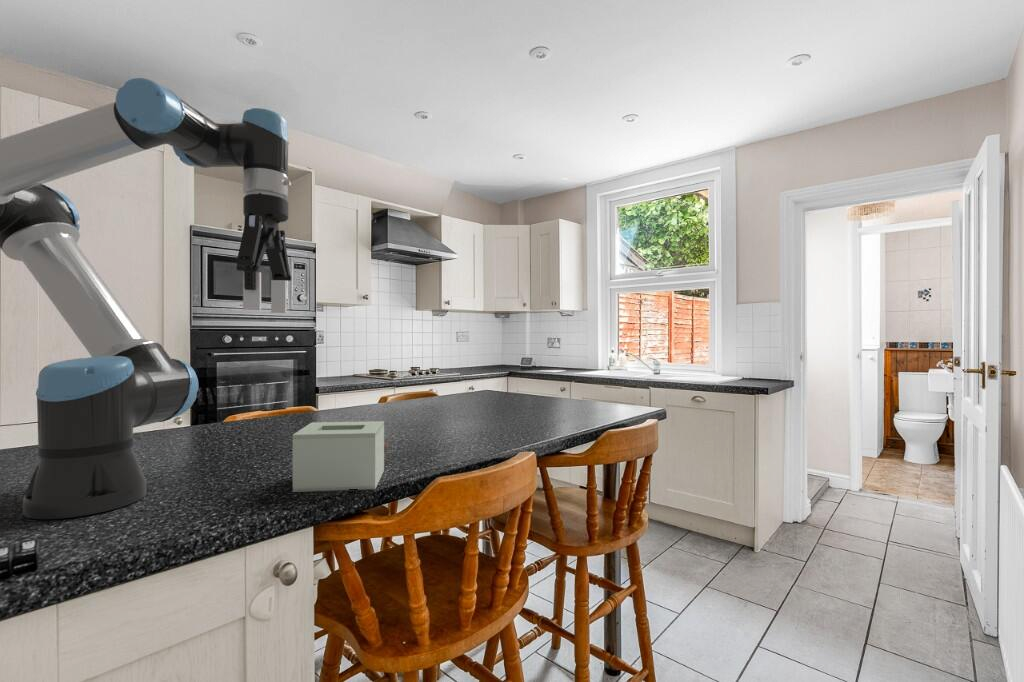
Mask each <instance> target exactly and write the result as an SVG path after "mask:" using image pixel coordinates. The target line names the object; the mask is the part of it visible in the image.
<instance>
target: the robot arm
mask: <svg viewBox="0 0 1024 682" xmlns="http://www.w3.org/2000/svg"><path fill="white" fill-rule="evenodd" d="M288 132H289V131H288V123H287V121H286V119H285V118H284V117H283V116H282V115H281V114H279V113H278V112H276V111H273V110H270V109H267V108H266V109H265V108H259V107H255V108H254V107H252V108H250V109H246V110H244V112H243V114H242V119H241V123H240V122H239V123H218V122H214V121H213V120H212V119H210V118H209V117H207V115H205V114H203V113H201V112H200V111H198V109H196V108H194V107H192V106H191V105H190V104H189V103H187V102H185V100H183V99H181V98H180V97H179V96H178V95H176V94H175V92H173V91H171V90H170V89H168V88H166V87H165V86H162V85H161V84H159V83H157V82H155V81H153V80H152V79H148V78H144V77H135V78H131V79H128V80H126V81H125V82H124V85H123V86H121V87H119V88H118V89H117V91H116V96H115V101H114V102H111V103H107V104H104V105H101V106H98V107H96V108H92V109H89V110H85V111H83V112H81V113H76V114H73V115H70V116H68V117H65V118H61V119H58V120H55V121H52V122H50V123H46V124H43V125H39V126H37V127H33V128H31V129H28V130H25V131H22V132H18V133H16V134H15V133H14V134H12V135H8V136H6V137H2V138H0V250H2V252H3V254H4V255H5V256H6V257H7V258H9V259H11V260H14V261H18V262H19V261H20V262H22V263H23V264H24V266H25V267H26V268H27V269H28V271H29V272H30V273H31V275H32V276H33V278H34V279H35V281H36V282H37V283H38V285H39V286H40V287H41V289H42V290H43V292H44V293H45V294H46V295H47V297H48V298H49V300H50V301H51V303H52V304H53V305H54V307H55V308H56V310H57V311H58V313H60V315H61V316H62V317H63V318H62V319H64V321H65V322H66V323H67V325H68V326H69V328H70V329H71V330H72V331H73V334H74V335H75V336H76V337H77V339H78V340H79V342H80V343H81V345H83V347H84V348H85V350H86V351H87V353H89V356H90V357H84V358H81V357H80V358H72V359H66V360H62V361H61V360H60V361H55V362H52V363H50V364H48V365H45V366H44V367H43V368H42V369H41V370H40V371H39V373H38V377H37V378H38V379H37V381H38V383H37V388H36V391H35V396H36V408H37V442H38V443H37V444H38V447H37V448H38V449H37V451H38V454H37V455H38V460H37V465H36V467H35V469H34V472H33V474H32V476H31V479H30V481H29V483H28V486H27V489H26V492H25V494H24V497H23V498H22V515H23V516H24V517H25V518H28V519H34V520H60V519H69V518H71V519H72V518H77V517H85V516H89V515H90V516H91V515H95V514H99V513H104V512H105V513H106V512H110V511H112V510H116V509H119V508H123V507H126V506H128V505H130V504H133V503H135V502H138V501H140V500H141V499H143V498H144V497H145V496H146V495H147V479H146V477H145V475H144V473H143V470H142V468H141V465H140V463H139V460H138V459H137V456H136V454H135V452H134V428H138V427H142V426H149V425H151V424H156V423H164V422H166V421H170V420H172V419H174V418H176V417H179V416H181V415H183V414H185V413H186V412H187V411H188V410H189V409H190V408H191V407H192V406H193V404H194V402H195V401H196V399H197V394H198V391H199V379H198V376H197V374H196V371H195V370H194V368H193V367H192V366H191V365H190V364H188V363H187V362H185V361H183V360H179V359H177V358H171V356H169V354H168V353H167V351H166V350H165V349H164V348H163V346H162V344H160V343H159V342H158V341H154V340H148V339H146V338H145V336H144V335H143V334H142V333H141V331H140V330H139V328H138V327H137V326H136V324H135V322H134V321H133V320H132V318H131V317H130V316H129V314H128V313H127V311H126V310H125V309H124V307H123V306H122V305H121V304H120V302H119V300H118V299H117V298H116V297H115V295H114V294H113V292H112V291H111V289H110V288H109V286H108V285H107V284H106V282H105V281H104V280H103V278H102V277H101V276H100V274H99V273H98V272H97V270H96V269H95V267H94V266H93V265H92V263H91V262H90V260H89V259H88V257H87V256H86V255H85V254H84V252H83V251H82V249H81V248H80V247H79V245H78V242H79V239H80V236H81V235H80V227H81V226H80V224H78V222H79V221H80V220H81V219H80V214H79V211H78V209H77V207H76V206H75V204H74V203H73V202H72V200H71V199H70V198H68V197H67V196H66V195H65V194H63V193H62V192H60V191H59V190H57V189H54V188H52V187H49V186H47V185H46V184H47V183H50V182H53V181H56V180H58V179H61V178H64V177H67V176H71V175H73V174H76V173H80V172H82V171H86V170H89V169H92V168H95V167H98V166H102V165H104V164H107V163H110V162H113V161H117V160H120V159H122V158H125V157H128V156H131V155H134V154H137V153H141V152H144V151H147V150H150V149H152V148H156V147H160V146H162V145H163V146H164V145H169V146H170V147H172V150H173V152H174V153H175V155H176V156H177V157H178V158H179V160H180V162H182V163H183V164H184V165H187V166H189V167H198V168H199V167H200V168H203V169H206V168H208V169H209V168H225V167H226V168H229V167H230V168H232V167H233V168H234V167H235V168H237V167H239V168H240V167H241V168H243V170H242V172H243V173H242V192H243V194H244V196H243V199H242V200H243V207H242V208H243V209H242V210H243V215H244V225H243V226H244V227H243V232H242V236H241V240H240V245H239V249H238V254H237V259H236V271H238V272H242V310H243V311H244V310H245V311H247V310H254V311H255V310H257V311H258V310H259V311H262V272H260V271H259V269H260V267H261V264H262V262H263V259H264V257H265V253H266V257H267V261H268V264H269V269H270V271H271V276H272V279H271V280H270V297H271V298H270V303H271V305H270V309H271V310H270V311H271V312H270V313H273V314H287V312H288V309H287V308H288V307H287V305H288V303H287V302H288V301H287V293H288V291H287V287H288V286H287V285H288V284H287V283H288V282H287V281H289V282H290V281H292V276H291V272H290V264H289V258H288V251H287V245H286V232H285V230H280V228H279V224H280V223H284V222H286V221H288V220H289V202H288V201H287V199H288V197H289V188H288V187H290V186H291V184H292V182H291V181H290V180H289V172H288V171H289V169H288V168H289V144H290V142H289V133H288Z"/></svg>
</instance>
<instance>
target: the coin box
mask: <svg viewBox="0 0 1024 682" xmlns="http://www.w3.org/2000/svg"><path fill="white" fill-rule="evenodd" d="M384 443H385V421H384V420H383V421H382V420H381V421H380V420H377V421H375V420H371V421H326V422H325V421H322V422H318V421H315V422H313V421H312V422H310V423H309V424H307V425H306V426H304V427H302V428H301V429H299V430H298V431H296V432H295V433H293V434H292V493H303V492H333V491H334V492H335V491H350V490H349V489H358V490H357V491H362V490H363V491H364V490H376V488H377V486H378V484H379V481H380V480H381V478H382V476H383V474H384V471H385V456H384V454H385V452H384Z"/></svg>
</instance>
